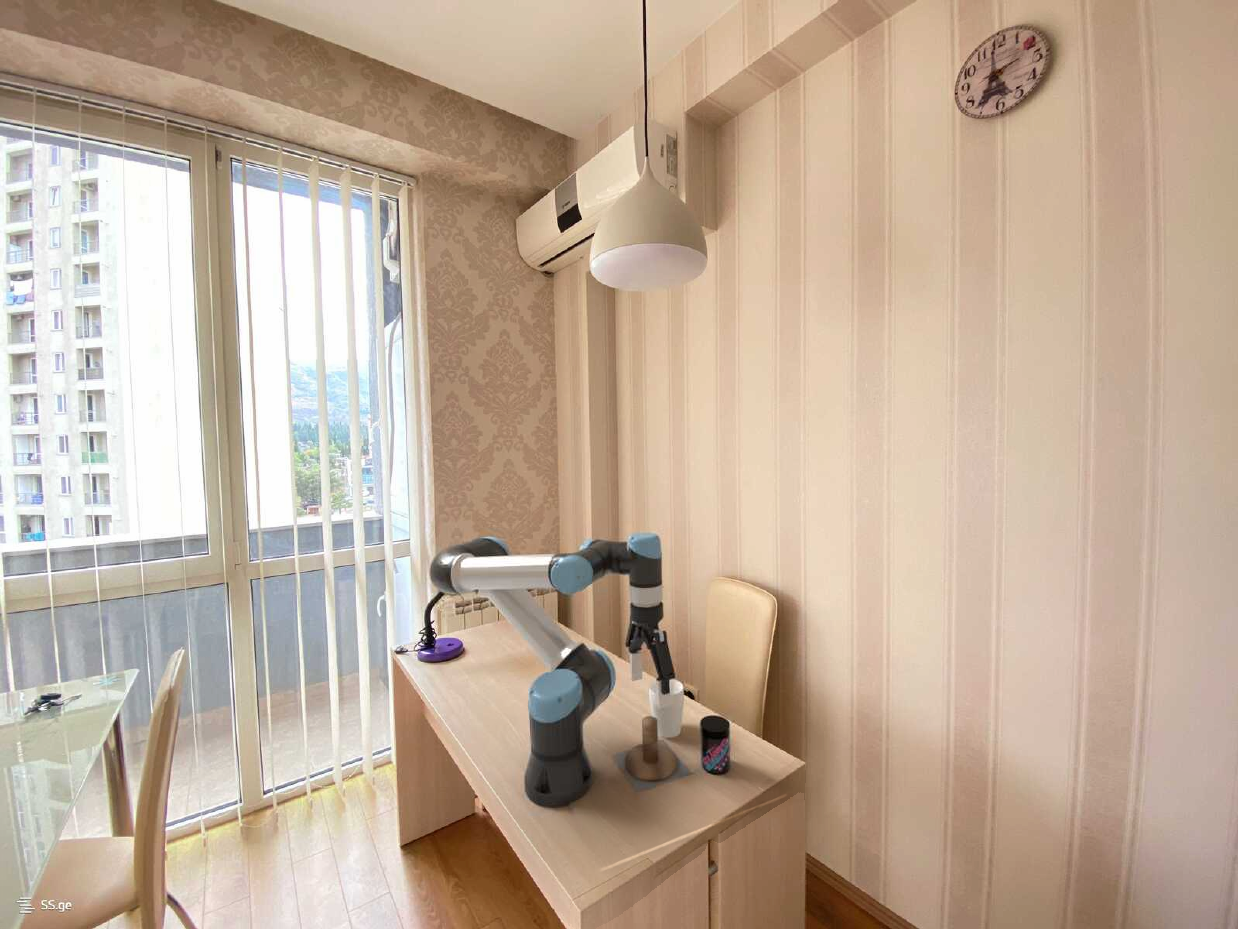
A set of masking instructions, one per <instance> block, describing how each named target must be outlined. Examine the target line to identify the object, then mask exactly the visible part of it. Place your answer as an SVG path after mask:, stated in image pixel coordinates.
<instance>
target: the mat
mask: <svg viewBox="0 0 1238 929" xmlns="http://www.w3.org/2000/svg"><path fill="white" fill-rule="evenodd" d="M658 744H660V745H663V746H666V747H668V748H669V749H671V750H672V751H673V752H674V753H675V751H674V750H673V749H672V748H671V747H670V746H669V745H668V743H667V742H665V740H664V739H660V740H658ZM629 750H630V749H628V750H624V751H622V752H617V753H615V754H612V755H611V758H612V759H613V761H614V762H615V763H616V766H618V767H619V769H620V770H621V772H622V773H623V775H624V777H625V778H626V779H627V781H628V782H629V784H630V785H631V786H632V789H634V791H635V792H636V794H638V793H641V792H644V791H647V790H650V789H652V788H655V787H658V786H661V785H664V784H666V783H669V782H670V783H671V782H672V781H676V780H678V779H681V778H683V777H687V776H690V775H692V774H693V772H692V770H691V769H690V768H689V767H688V766H687V764H685V763H684V761H683V760H682V759H681V758H680V757H679V756H678V755H677V753H675V755H676V758H677V768H676V770H675V772H674V773H673V774H672V775H671V776H670V777H669V778H667V779H664V780H661V781H657V782H646V781H641V780H638V779H636V778H634V777H632V776H631V775H630V774H629V773H628V772H627V770H626V768H625V756H626V754H627V753H628V751H629Z"/></svg>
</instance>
